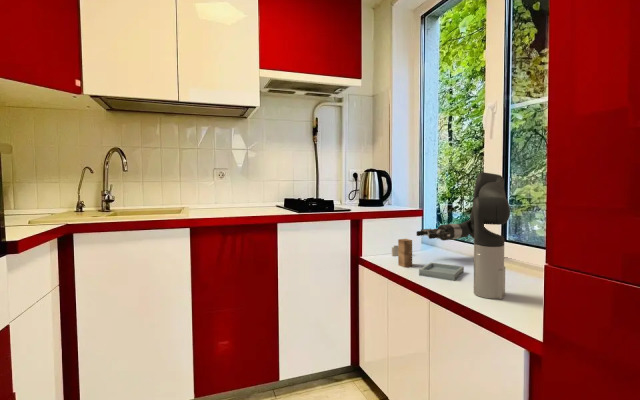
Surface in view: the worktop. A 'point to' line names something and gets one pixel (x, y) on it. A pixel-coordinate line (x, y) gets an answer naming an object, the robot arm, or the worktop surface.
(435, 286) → the worktop surface
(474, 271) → the robot arm
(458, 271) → the tray
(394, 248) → the lighter
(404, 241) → the tall wooden block
